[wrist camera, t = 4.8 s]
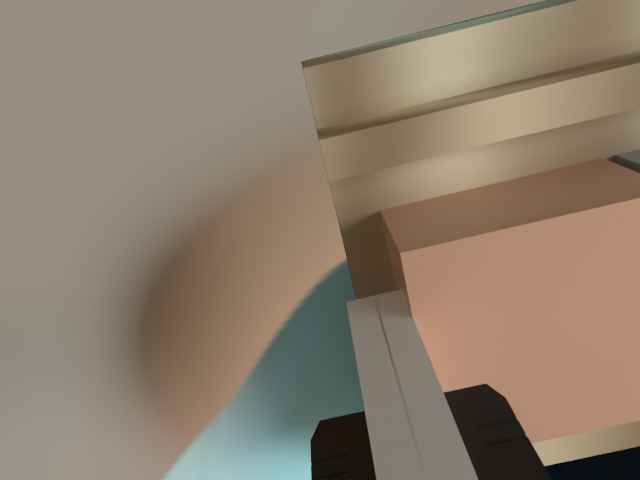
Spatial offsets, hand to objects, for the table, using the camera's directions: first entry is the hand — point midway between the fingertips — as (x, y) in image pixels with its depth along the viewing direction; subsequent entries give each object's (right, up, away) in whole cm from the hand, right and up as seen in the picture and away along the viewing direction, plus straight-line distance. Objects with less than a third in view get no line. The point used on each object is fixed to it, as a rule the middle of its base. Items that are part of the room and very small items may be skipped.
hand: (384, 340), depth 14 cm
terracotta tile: (+3, +1, +1) cm, 4 cm away
